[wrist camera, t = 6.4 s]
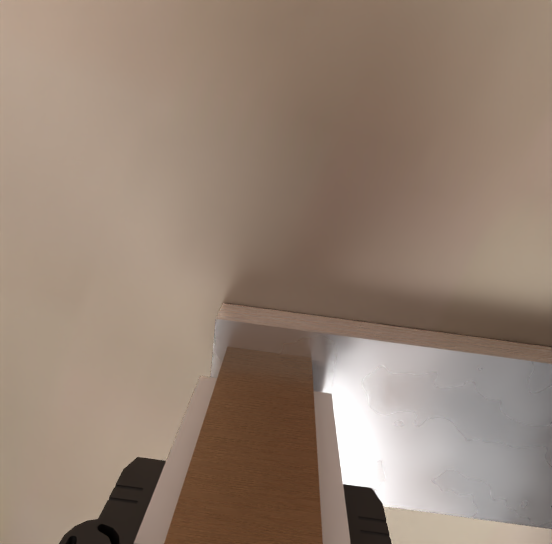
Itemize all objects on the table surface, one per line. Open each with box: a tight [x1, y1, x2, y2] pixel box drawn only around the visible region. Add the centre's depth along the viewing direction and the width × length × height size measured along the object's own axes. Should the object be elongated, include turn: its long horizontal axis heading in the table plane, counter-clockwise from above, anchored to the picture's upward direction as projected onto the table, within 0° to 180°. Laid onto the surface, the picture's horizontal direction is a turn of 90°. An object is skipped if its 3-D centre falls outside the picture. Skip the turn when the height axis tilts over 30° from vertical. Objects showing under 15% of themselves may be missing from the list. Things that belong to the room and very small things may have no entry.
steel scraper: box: [164, 303, 552, 544], centre depth 13 cm, size 19×7×10 cm, turn 83°
